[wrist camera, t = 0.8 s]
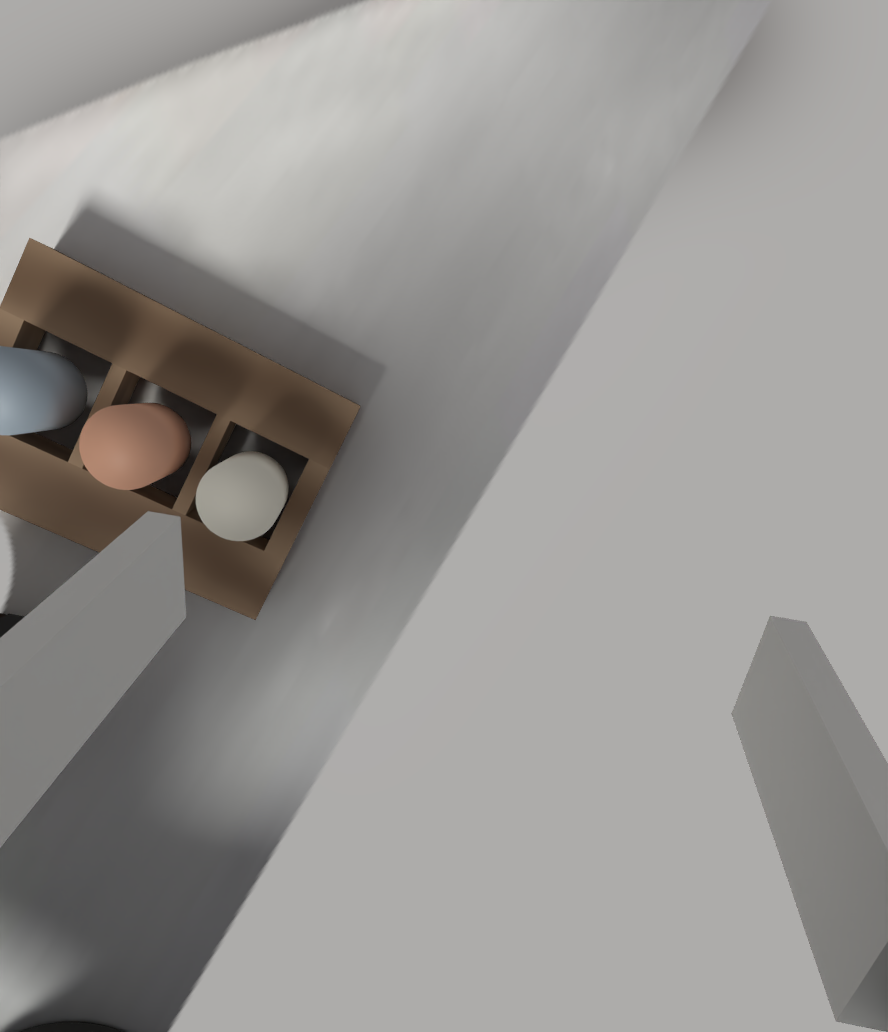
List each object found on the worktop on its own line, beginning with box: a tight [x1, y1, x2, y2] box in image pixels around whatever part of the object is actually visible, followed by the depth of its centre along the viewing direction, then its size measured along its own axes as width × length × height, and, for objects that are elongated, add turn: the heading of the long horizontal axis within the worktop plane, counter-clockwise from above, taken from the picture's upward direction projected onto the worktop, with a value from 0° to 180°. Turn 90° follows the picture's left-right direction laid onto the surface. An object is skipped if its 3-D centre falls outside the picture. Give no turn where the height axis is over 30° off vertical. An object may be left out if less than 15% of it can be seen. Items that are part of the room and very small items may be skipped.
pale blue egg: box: [0, 346, 87, 435], centre depth 36 cm, size 4×4×5 cm
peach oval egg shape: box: [79, 403, 191, 490], centre depth 37 cm, size 4×4×5 cm
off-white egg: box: [196, 451, 289, 541], centre depth 38 cm, size 4×4×5 cm
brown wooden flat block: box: [0, 238, 360, 620], centre depth 41 cm, size 14×19×3 cm
